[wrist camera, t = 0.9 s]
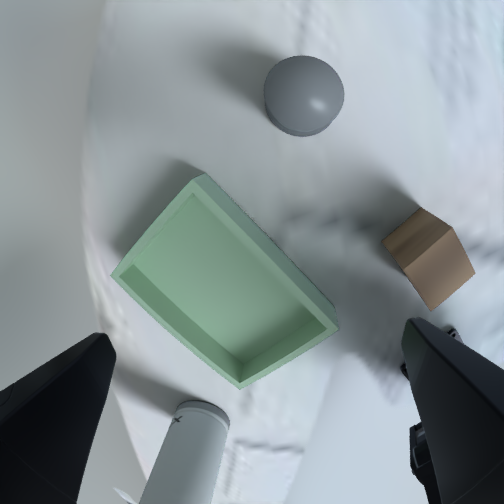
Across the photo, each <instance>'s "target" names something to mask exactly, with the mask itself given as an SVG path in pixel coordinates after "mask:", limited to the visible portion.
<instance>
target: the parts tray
mask: <svg viewBox="0 0 504 504" xmlns="http://www.w3.org/2000/svg"><path fill="white" fill-rule="evenodd" d="M110 276H111V277H112V278H113V279H114V280H115V281H116V282H117V283H118V284H119V285H120V286H121V287H122V288H123V289H124V290H125V291H126V292H127V293H128V294H129V295H130V296H131V297H132V298H133V299H134V300H135V301H136V302H137V303H138V304H139V305H140V306H141V307H142V308H143V309H144V310H145V311H146V312H147V313H148V314H150V315H151V316H152V317H153V318H154V319H155V320H156V321H157V322H158V323H159V324H160V325H162V326H163V327H164V328H165V329H166V330H167V331H168V332H169V333H170V334H172V335H173V336H174V337H175V338H176V339H177V340H178V341H180V342H181V343H182V344H183V345H184V346H185V347H187V348H188V349H189V350H190V351H191V352H193V353H194V354H195V355H196V356H197V357H199V358H200V359H201V360H202V361H203V362H205V363H206V364H207V365H208V366H210V367H211V368H212V369H213V370H215V371H216V372H217V373H218V374H220V375H221V376H222V377H224V378H225V379H226V380H228V381H229V382H230V383H231V384H233V385H234V386H235V387H237V388H238V389H239V390H240V389H242V388H244V387H246V386H248V385H250V384H251V383H253V382H255V381H257V380H259V379H260V378H262V377H264V376H266V375H267V374H269V373H271V372H273V371H274V370H276V369H278V368H279V367H281V366H283V365H284V364H286V363H288V362H289V361H291V360H293V359H294V358H296V357H298V356H299V355H301V354H302V353H304V352H306V351H307V350H309V349H310V348H312V347H314V346H315V345H317V344H318V343H320V342H321V341H323V340H324V339H326V338H327V337H329V336H330V335H332V334H333V333H335V332H336V331H338V330H339V326H338V321H337V316H336V312H335V307H334V306H333V305H332V304H331V303H330V302H329V301H328V300H327V299H326V297H325V296H324V295H323V294H322V293H321V292H320V291H319V290H318V289H317V288H316V287H315V286H314V285H313V284H312V282H311V281H310V280H309V279H308V278H307V277H306V276H305V275H304V274H303V273H302V272H301V271H300V270H299V269H298V268H297V267H296V266H295V264H294V263H293V262H292V261H291V260H290V259H289V258H288V257H287V256H286V255H285V254H284V253H283V252H282V251H281V250H280V249H279V248H278V247H277V246H276V245H275V243H274V242H273V241H272V240H271V239H270V238H269V237H268V236H267V235H266V234H265V233H264V232H263V231H262V230H261V229H260V228H259V227H258V226H257V225H256V224H255V223H254V222H253V221H252V220H251V219H250V218H249V217H248V216H247V214H246V213H245V212H244V211H243V210H242V209H241V208H240V207H239V206H238V205H237V204H236V203H235V202H234V201H233V200H232V199H231V198H230V197H229V196H228V195H227V194H226V193H225V192H224V191H223V190H222V189H221V188H220V187H219V186H218V185H217V184H216V183H215V182H214V181H213V180H212V179H211V178H210V177H209V176H208V175H207V174H206V173H204V174H202V175H200V176H197V177H195V178H193V179H192V180H191V181H190V182H189V183H188V184H187V185H186V186H185V187H184V188H183V189H182V190H181V191H180V193H179V194H178V195H177V196H176V197H175V198H174V199H173V200H172V201H171V203H170V204H169V205H168V206H167V207H166V208H165V209H164V210H163V212H162V213H161V214H160V215H159V216H158V217H157V218H156V220H155V221H154V222H153V223H152V224H151V225H150V227H149V228H148V229H147V230H146V231H145V233H144V234H143V235H142V236H141V237H140V239H139V240H138V241H137V242H136V243H135V245H134V246H133V247H132V248H131V250H130V251H129V252H128V253H127V254H126V256H125V257H124V258H123V259H122V261H121V262H120V263H119V265H118V266H117V267H116V268H115V270H114V271H113V272H112V274H111V275H110Z"/></svg>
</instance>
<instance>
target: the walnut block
mask: <svg viewBox="0 0 504 504" xmlns="http://www.w3.org/2000/svg"><path fill="white" fill-rule="evenodd" d="M381 242H382V243H383V244H384V246H385V247H386V248H387V250H388V251H389V252H390V254H391V255H392V256H393V258H394V259H395V261H396V262H397V263H398V265H399V266H400V268H401V269H402V271H403V272H404V273H405V275H406V276H407V278H408V279H409V281H410V282H411V283H412V285H413V286H414V288H415V289H416V290H417V292H418V293H419V295H420V296H421V298H422V299H423V301H424V302H425V304H426V305H427V307H428V308H429V310H430V311H432V310H433V309H435V308H436V307H437V306H438V305H440V304H441V303H442V302H443V301H444V300H446V299H447V298H448V297H449V296H450V295H452V294H453V293H454V292H455V291H456V290H457V289H459V288H460V287H461V286H462V285H463V284H464V283H465V282H467V281H468V280H469V279H470V278H471V277H472V276H473V275H474V274H475V271H474V269H473V267H472V265H471V263H470V260H469V258H468V256H467V254H466V252H465V250H464V248H463V246H462V244H461V242H460V241H459V239H458V237H457V235H456V233H455V231H454V229H453V228H452V227H451V226H450V225H448V224H447V223H445V222H444V221H442V220H441V219H439V218H437V217H436V216H434V215H433V214H431V213H430V212H428V211H426V210H425V209H423V208H422V207H421V208H420V209H419V210H417V211H416V212H415V213H414V214H413V215H412V216H411V217H409V218H408V219H407V220H406V221H405V222H404V223H403V224H401V225H400V226H399V227H398V228H397V229H395V230H394V231H393V232H392V233H391V234H390V235H388V236H387V237H386V238H385V239H384V240H382V241H381Z"/></svg>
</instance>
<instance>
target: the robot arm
mask: <svg viewBox="0 0 504 504" xmlns="http://www.w3.org/2000/svg"><path fill="white" fill-rule="evenodd" d="M452 334H453V335H452ZM402 351H403V355H404V359H405V363H404V364H403V365H402V366H401V368H400V369H401V371H402V373H403V374H404V375H405V377H406V378H407V379H408V380H409V381H410V386H411V390H412V393H413V397H414V400H415V403H416V406H417V409H418V412H419V416H420V419H421V422H420V423H418V424H417V425H414V426H412V427H410V466H411V469H412V473H413V475H415V476H416V478H417V479H418V480H419V482H420V483H422V484H423V485H424V487H425V490H426V494H427V498H428V502H429V504H504V370H503V369H502V368H500V367H499V366H497V365H496V364H494V363H493V362H491V361H489V360H488V359H486V358H485V357H483V356H482V355H480V354H479V353H477V352H475V351H474V350H472V349H471V348H469V347H468V346H466V345H464V343H463V341H462V339H461V337H460V335H459V334H458V332H457V330H456V329H451V330H450V331H448V332H447V333H445V332H444V331H442V330H441V329H439V328H437V327H436V326H434V325H432V324H431V323H429V322H428V321H426V320H424V319H423V318H420V317H417V318H411V319H408V320H407V322H406V325H405V329H404V333H403V338H402ZM115 362H116V352H115V350H114V348H113V346H112V344H111V341H110V339H109V337H108V335H107V334H105V333H93V334H91V335H90V336H88V337H87V338H85V339H84V340H82V341H80V342H78V343H77V344H75V345H74V346H72V347H70V348H69V349H67V350H66V351H64V352H62V353H61V354H59V355H58V356H56V357H54V358H53V359H51V360H50V361H48V362H46V363H45V364H43V365H42V366H40V367H39V368H37V369H35V370H34V371H32V372H31V373H29V374H27V375H26V376H25V377H23V378H21V379H19V380H18V381H17V382H15V383H13V384H11V385H10V386H8V387H7V388H5V389H4V390H2V391H0V504H77V503H76V502H77V499H78V494H79V490H80V486H81V482H82V478H83V475H84V471H85V467H86V463H87V460H88V456H89V453H90V449H91V446H92V442H93V439H94V436H95V433H96V429H97V426H98V423H99V420H100V417H101V414H102V411H103V408H104V405H105V401H106V398H107V394H108V390H109V386H110V382H111V378H112V374H113V370H114V366H115Z"/></svg>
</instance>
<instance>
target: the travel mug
mask: <svg viewBox="0 0 504 504" xmlns="http://www.w3.org/2000/svg"><path fill="white" fill-rule="evenodd" d="M229 426H230V420H229V418H228V416H227V415H226V414H225V413H224V412H223V411H222V410H221V409H219V408H217V407H216V406H214V405H211V404H209V403H205V402H200V401H187V402H184V403H182V404H180V405H179V406H178V408H177V410H176V412H175V415H174V418H173V419H172V422H171V424H170V427H169V429H168V432H167V434H166V437H165V439H164V442H163V444H162V447H161V449H160V452H159V454H158V457H157V459H156V462H155V464H154V467H153V469H152V472H151V474H150V477H149V479H148V482H147V484H146V487H145V489H144V492H143V494H142V497H141V500H140V502H139V504H211V500H212V496H213V492H214V488H215V484H216V480H217V476H218V472H219V468H220V464H221V460H222V455H223V451H224V447H225V443H226V439H227V434H228V430H229Z"/></svg>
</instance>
